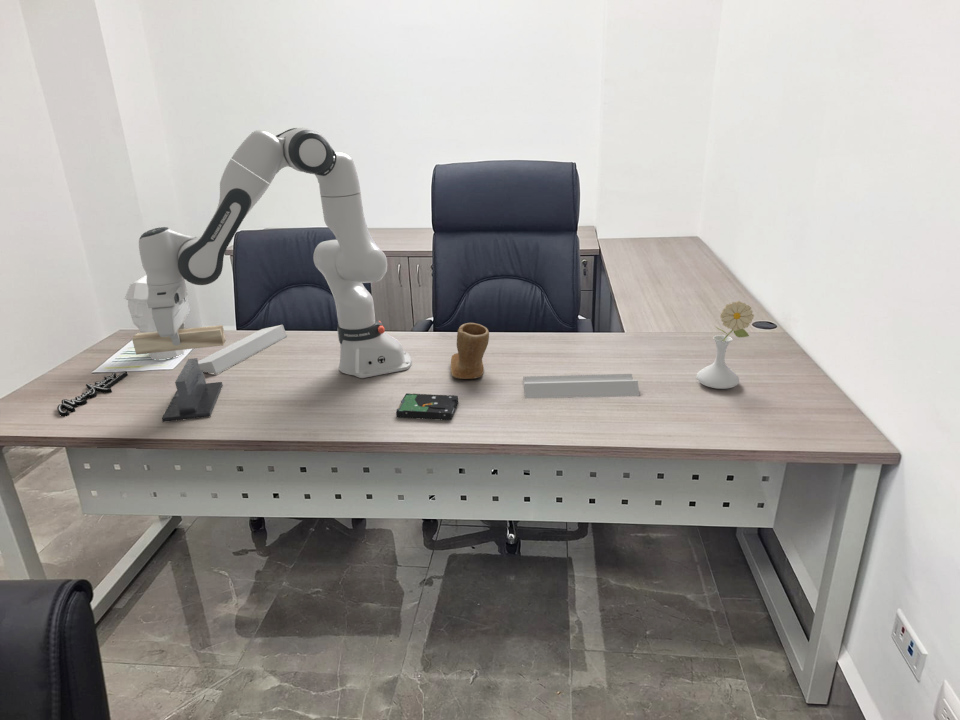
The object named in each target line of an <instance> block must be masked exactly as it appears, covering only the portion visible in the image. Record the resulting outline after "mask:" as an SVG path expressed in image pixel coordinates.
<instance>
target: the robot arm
mask: <svg viewBox="0 0 960 720" xmlns="http://www.w3.org/2000/svg"><path fill="white" fill-rule="evenodd" d="M286 167H288V168H289V167H290V168H292V169H294V170H296V171H298V172H302V173H306V174H311V175H315V177H316V179H317V182H318V185H319V195H320V201H321V207H322V213H323V214H322V215H323V220H324V221H323V222H324V223H325V225H326V226H327V228H328V229H329V230H330V231H331V233H332V234H333V235H334V237H335V239H329V240H325V241H321V242H319V243H318V244H317V245H316V247H315V248H314V252H313V263H314V266H315V268H316V269H317V270H318V271H319V272H320V273H321V274H322V276H323V277H324V279H325V281H326V282H327V285H328V287H329V289H330V291H331V293H332V296H333V299H334V304H335V310H336V316H337V322H338V323H337V338H338V342H339V343H340V353H339V354H340V355H339V356H340V357H339V363H338V371H340V372H341V373H342V374H344V375H345V374H346V375H348V376H349V375H351V376H355V377H357V378H359V379H364V378H370V377H375V376H382V375H386V374H392V373H397V372H401V371H407V370H408V369H410V368H411V366H412V357H411V356H410V355H411V354H409V353H408V352H407V351H404V350H403V345H402V343H401V342H400V341H399V340H398V339H397V338H395V337H393V336H392V335H390V334H388V333H387V332H385V331H386V330H385V327H384V325H383V323H382V322H381V320H377V319H376V316H375V315H376V314H375V305H374V299H373V296H372V293H370V292H369V290H367V288H366V286H364V284H369V283H370V284H371V283H378V282H379V281H381V280H382V279H383V278H384V277H385V275H386V273H387V271H388V258H387V256H386V253H384V251H383V250H382V249H381V248H380V247H379V246H378V245H377V243H376V242H375V240H374V239H373V237H372V235H371V232H370V230H369V228H368V225H367V223H366V218H365V214H364V208H363V202H362V194H361V187H360V181H359V176H358V173H357V168H356V166H355V163H354V160H353V158H352V157H351V156H350V155H349V154H348V153H345V152H342V151H335V150H334V149H333V147H332V146H331V145H330V143H329V141H328V140H327V139H326V138H325V137H324V136H323V135H322V134H321V133H319V132H318V131H316V130H313V129H311V128H307V127H293V128H289V129H286V130H285V131H282V132H281V133H279V134H277V135H275V134H272V133H271V132H269V131H267V130H261V129H258V130H257V129H256V130H254V131H253V132H251V133H250V134H249V135H248V136H247V137H246V138H245V139H244V140H243V141H242V142H241V144H240V145H239V146H238V147H237V149H236V150H235V152H234V153H233V155H232V156H231V158H230V160H229V161H228V162H227V164H226V167H225V168H224V171H223V173H222V175H221V179H220V182H219V199H218V203H217V204H218V206H217V208H216V211H215V212H214V214H213V216H212V218H211V219H210V220H209V222H208V224H207V226H206V228H205V229H204V231H203V233H202V235H201V236H197V235H195V236H194V235H188V234H184V233H181V232H178V231H176V230H173V229H172V228H170V227H168V226H167V227H166V226H163V227H156V228H152V229H149V230H147V231H145V232H143V233H142V234H141V235H140V237H139V239H138V251H139V255H140V262H141V264H142V268H143V269H144V271H145V275H147V286H148V298H147V305H148V308H152V316H153V320H154V323H155V326H156V329H157V332H158V334H159V335H160V336H161V337H169V336H170V338H171V339H172V342H173V345H180V343H181V338H180V337H179V335H178V329H186V323H185V322H186V319H187V317H188V316H189V315H190V314H191V309H190V304H189V301H188V300H189V299H188V295H189V294H188V289H187V284H186V281H187V282H188V283H190V284H193V285H196V286H207V285H209V284H212V283H214V282H216V280H217V281H218V278H219V277H220V276H221V274H222V271H223V268H224V267H223V266H224V257H225V253H226V250H227V249H228V247H229V245H230V243H231V242H232V239H233V238H234V236H235V234H236V233H237V231H238V230H239V228H240V226H241V224H242V222H243V221H244V219H245V218H246V216H247V215H248V214H249V213H250V212H251V210H252V209H253V208H254V206H255V205H256V204H257V203H258V202H259V201H260V199H261V198H262V197H263V195H264V194H265V193H266V191H267V190H268V188H269V186H271V184H272V182H273V180H274V178H275V176H276V175H278V173H279V172H280V171H281V170H283V168H286Z"/></svg>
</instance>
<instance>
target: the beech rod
mask: <svg viewBox="0 0 960 720" xmlns="http://www.w3.org/2000/svg"><path fill="white" fill-rule="evenodd" d="M178 335H179V337H180V338H181V343H180V345H173V342H172V339H171V338H170V336H169V337H161V336H160V335H159V334H158V332H146V333H142V332H138V333H136V334H134V335H133V337H132V338H131V340H132V344H133V347H134V352H135V354H136V355H145V354H149V353H156V352H166V351H176V350H185V349H186V350H191V349H192V350H194V349H202V348H215V347H221V346H222V347H223V346H224V345H225V343H226V341H227V340H226V336H225V335H226V334H225V331H224V325H223V324H221V325H220V324H219V325H210V326H201V327H200V326H199V327H191V328H190V327H189V328H185V329H178Z"/></svg>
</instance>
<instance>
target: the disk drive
mask: <svg viewBox="0 0 960 720" xmlns="http://www.w3.org/2000/svg"><path fill="white" fill-rule="evenodd" d="M458 406H459V396H458V395H453V394H452V395H451V394H431V393H430V394H429V393H428V394H426V393H405V395H404V397H402V400H400V404H399V405H398V407H397V408H396V412H395V415H396V418H397V417H398V418H401V419H416V418H420V419H421V420H435V419H440V420H439V421H452V419H453V417H454V414H455V412H456V410H457V408H458ZM422 418H423V419H422ZM441 419H442V420H441Z"/></svg>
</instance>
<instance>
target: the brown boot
mask: <svg viewBox="0 0 960 720" xmlns="http://www.w3.org/2000/svg"><path fill="white" fill-rule="evenodd" d="M489 339H490V331H489V328H488V327H486V326H484V325H482V324H480V323H475V322H467V323H463V324H461V325H460V326H459V328H458V329H457V334H456V349H457V353H454V354H452V355H451V359H450V373H451V375H452V377H453V378H455V379H459V380H474V379H478V378H481V377H482V376H483V373H484V371H485V369H484V363H483V357H484V355H485V352H486V350H487V348H488V345H489V341H490V340H489Z"/></svg>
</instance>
